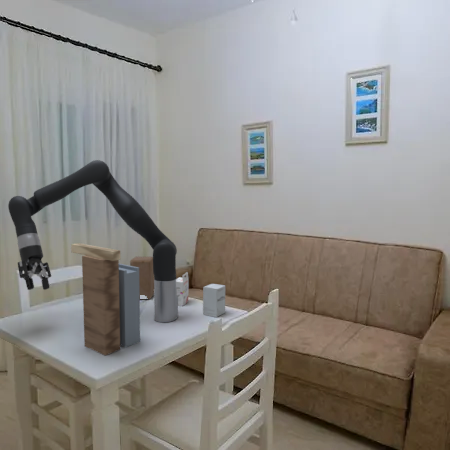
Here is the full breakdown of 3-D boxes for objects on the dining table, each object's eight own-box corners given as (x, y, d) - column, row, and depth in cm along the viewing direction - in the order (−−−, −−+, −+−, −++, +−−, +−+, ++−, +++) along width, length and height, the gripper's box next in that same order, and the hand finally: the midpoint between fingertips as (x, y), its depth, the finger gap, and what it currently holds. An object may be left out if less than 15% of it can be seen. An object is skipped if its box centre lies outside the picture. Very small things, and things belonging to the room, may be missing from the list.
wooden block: (150, 300, 188) (150, 260, 186) (130, 299, 188) (129, 259, 186) (154, 294, 198) (154, 256, 196) (135, 294, 198) (134, 256, 196)
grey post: (119, 333, 146) (117, 263, 143) (140, 341, 138) (139, 267, 136) (104, 338, 140) (103, 265, 138) (125, 347, 133) (124, 270, 130)
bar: (79, 251, 140) (78, 243, 139) (120, 259, 125) (120, 250, 125) (71, 252, 137) (71, 244, 137) (112, 260, 123) (112, 251, 122)
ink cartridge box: (179, 300, 189) (179, 270, 187) (188, 300, 188) (188, 271, 186) (173, 305, 180) (173, 274, 179) (183, 306, 179) (183, 275, 178)
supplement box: (216, 317, 164) (216, 289, 163) (202, 314, 168) (202, 286, 167) (225, 313, 170) (225, 285, 169) (211, 310, 174) (212, 282, 173)
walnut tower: (99, 340, 139) (97, 253, 135) (120, 349, 131) (118, 257, 128) (84, 346, 134) (81, 256, 131) (105, 355, 127) (103, 260, 123)
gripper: (25, 242, 136) (34, 285, 133) (50, 246, 150) (59, 285, 146) (7, 249, 137) (16, 292, 134) (34, 252, 151) (42, 292, 147)
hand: (39, 289), depth 140 cm, fingers open, 8 cm apart
